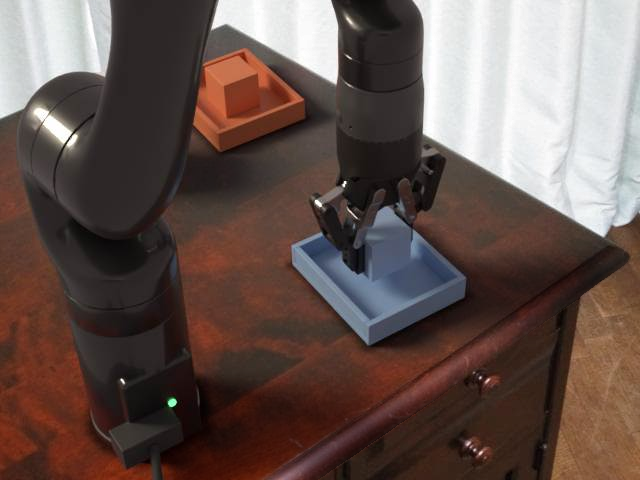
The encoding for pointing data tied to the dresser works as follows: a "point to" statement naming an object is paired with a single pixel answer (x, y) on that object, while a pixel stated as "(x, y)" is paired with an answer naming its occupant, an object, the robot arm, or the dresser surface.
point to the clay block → (232, 86)
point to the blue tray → (380, 286)
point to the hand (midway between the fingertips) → (377, 257)
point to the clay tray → (272, 114)
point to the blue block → (386, 245)
